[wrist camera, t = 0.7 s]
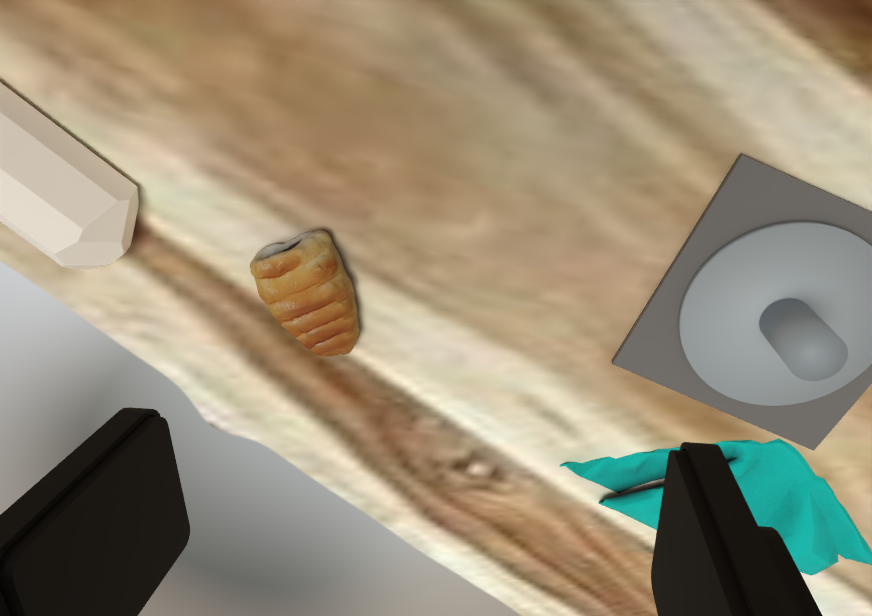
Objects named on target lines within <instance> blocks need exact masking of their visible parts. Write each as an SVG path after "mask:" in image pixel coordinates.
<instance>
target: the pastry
mask: <svg viewBox="0 0 872 616" xmlns="http://www.w3.org/2000/svg"><path fill="white" fill-rule="evenodd" d="M250 268H251V273H252V275H254V277H255V280H256V284H257V288H258V293H259V295H260V297H261V299H262V300H263V301H264V302H265V304H266V305H267V306H268V307H269V309H270V312H271V313H272V315H273V317H274V318H275V319H276V320H277V321H278V322H279V323H280V324H281V326H282V327H284V328H286V329H287V330H288V332H289V333H290V334H291V335H292V336H294V337H296V339H297V340H298V341H300V342H301V343H302V344H303V345H304V346H305V347H306V348H308V349H309V350H311V351H312V352H313V353H314V354H316V355H321V356H334V355H339V354H342V355H344V354H348V353H350V352H351V350H352V349H353V347H354V345H355V343H356V341H357V339H358V337H359V335H360V330H359V327H358V319H357V313H358V309H357V306H356V302H355V289H354V287H353V285H352V282H351V280H350V278H349V277H348V275H347V273H346V271H345V269H344V266H343V262H342V259H341V258H340V255H339V253H338V251H337V250H336V247H335V245H334V244H333V242H332V240H331V238H330V236H329V235H328V233H327V232H324V231H321V230H317V231H315V232H307V233H304V234H301V235H299V236H297V237H296V238H294V239H292V240H290V241H288V242H287V243H285V244H273V245H270V246H268V247H266V248H263V249H262V250H261V251H259V252H258V253H257V254H256V256H255V257H254V259H253V260H252V262H251V264H250Z"/></svg>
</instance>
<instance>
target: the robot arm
mask: <svg viewBox="0 0 872 616" xmlns="http://www.w3.org/2000/svg"><path fill="white" fill-rule="evenodd" d="M189 535H190V525H189V520H188V516H187V511H186V506H185V502H184V497H183V492H182V488H181V483H180V478H179V473H178V469H177V464H176V459H175V455H174V450H173V445H172V440H171V436H170V431H169V427H168V423H167V421H166V419H165V418H163V417H160V414H159V413H158V412H157V411H156V410H154V409H142V408H123V409H122V410H120V411H119V412H118V413H116V414H115V415H114V416H113V417H112V418H111V419H110V420H108V421H107V422H106V423H105V424H104V425H103V426H102V427H101V428H99V429H98V430H97V431H96V432H95V433H94V434H92V436H90V437H89V438H88V439H87V440H86V441H84V442H83V443H82V444H81V445H80V446H79V447H78V448H76V449H75V450H74V451H73V452H72V453H71V454H70V455H68V456H67V457H66V458H65V459H64V460H63V461H62V462H60V463H59V464H58V465H57V466H56V467H55V468H54V469H52V470H51V471H50V472H49V473H48V474H47V475H46V476H45V477H43V478H42V479H41V480H40V481H39V482H38V483H36V484H35V485H34V486H33V487H32V488H31V489H30V490H28V491H27V492H26V493H25V494H24V495H23V496H22V497H20V498H19V499H18V500H17V501H16V502H15V503H14V504H12V505H11V506H10V507H9V508H8V509H7V510H6V511H5V512H3V513H2V514H1V515H0V616H137V615H138V614H139V613H140V611H141V610H142V609H143V607H144V606H145V604H146V603H147V601H148V600H149V599H150V597H151V595H152V594H153V593H154V591H155V590H156V588H157V587H158V586H159V584H160V583H161V581H162V580H163V578H164V577H165V576H166V574H167V573H168V571H169V570H170V568H171V567H172V565H173V564H174V563H175V561H176V560H177V558H178V557H179V555H180V554H181V552H182V551H183V550H184V548H185V546H186V545H187V542H188V540H189ZM651 582H652V590H653V595H654V599H655V604H656V608H657V612H658V616H822V614H821V612H820V610H819V608H818V606H817V604H816V602H815V600H814V599H813V597H812V595H811V593H810V591H809V589H808V587H807V585H806V583H805V581H804V579H803V577H802V575H801V573H800V572H799V570H798V568H797V566H796V564H795V562H794V560H793V558H792V556H791V554H790V552H789V550H788V548H787V546H786V545H785V543H784V541H783V539H782V537H781V536H780V534H779V533H778V531H777V530H776V529H774V528H773V527H764V526H758V525H757V523H756V521H755V518H754V516H753V514H752V512H751V510H750V508H749V506H748V504H747V502H746V500H745V498H744V496H743V494H742V491H741V489H740V487H739V485H738V483H737V481H736V479H735V477H734V475H733V473H732V471H731V469H730V466H729V464H728V462H727V460H726V458H725V456H724V454H723V452H722V450H721V448H720V447H719V445H717V444H705V443H689V442H683V443H682V444H681V447H680V450H670V452H669V455H668V460H667V467H666V474H665V481H664V487H663V494H662V501H661V508H660V514H659V521H658V528H657V534H656V541H655V548H654V555H653V561H652V569H651Z"/></svg>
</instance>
